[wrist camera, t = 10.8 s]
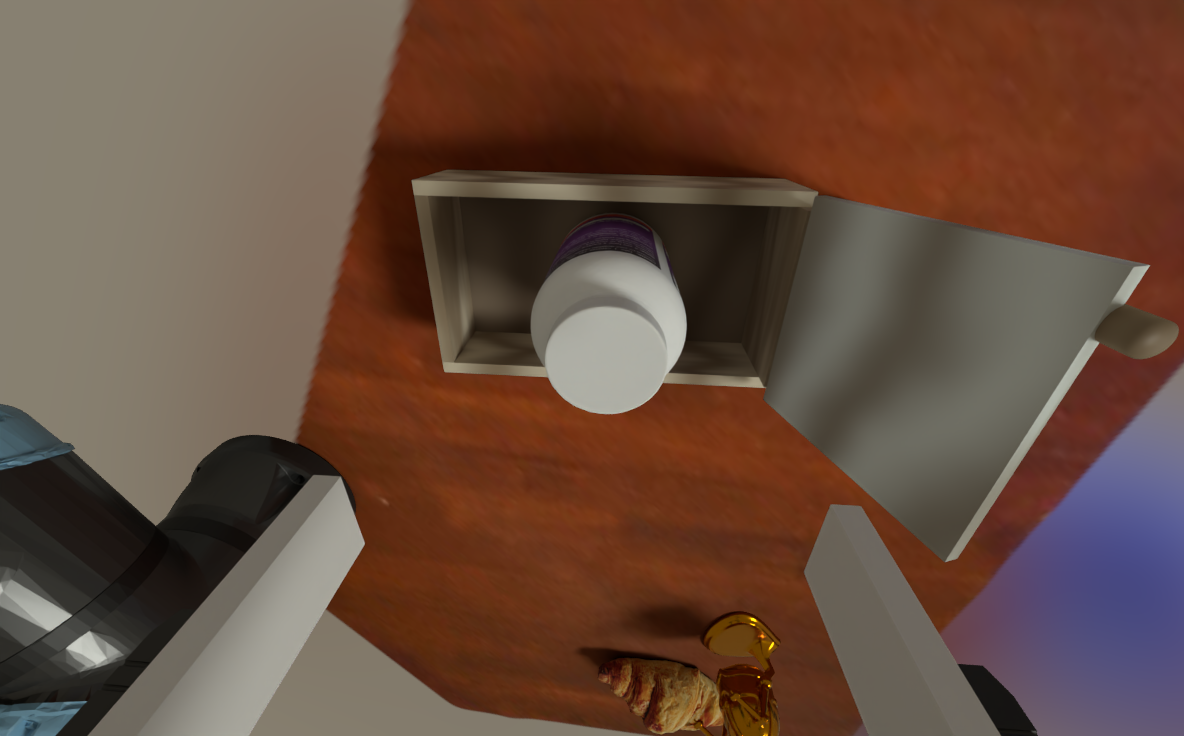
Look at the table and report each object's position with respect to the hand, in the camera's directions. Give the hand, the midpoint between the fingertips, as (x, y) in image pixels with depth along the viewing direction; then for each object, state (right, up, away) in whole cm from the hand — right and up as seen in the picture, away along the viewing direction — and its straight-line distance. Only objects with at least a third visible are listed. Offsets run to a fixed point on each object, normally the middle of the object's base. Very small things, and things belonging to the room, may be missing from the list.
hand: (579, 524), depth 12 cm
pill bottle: (+2, +12, +20) cm, 23 cm away
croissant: (+11, -38, +49) cm, 63 cm away
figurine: (+18, -28, +42) cm, 54 cm away
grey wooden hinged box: (+4, +12, +20) cm, 24 cm away
